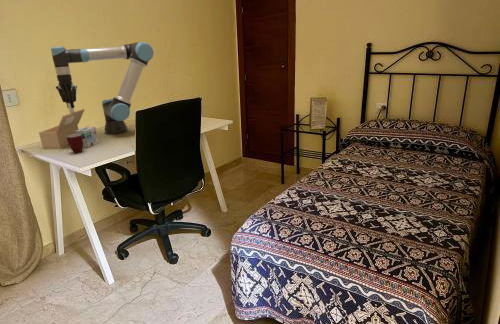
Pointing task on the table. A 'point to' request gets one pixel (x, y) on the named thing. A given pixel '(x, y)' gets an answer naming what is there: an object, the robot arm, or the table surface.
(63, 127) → the box lid
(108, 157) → the table surface
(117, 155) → the table surface
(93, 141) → the light bulb box
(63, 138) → the carton
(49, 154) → the table surface
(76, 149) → the mug
